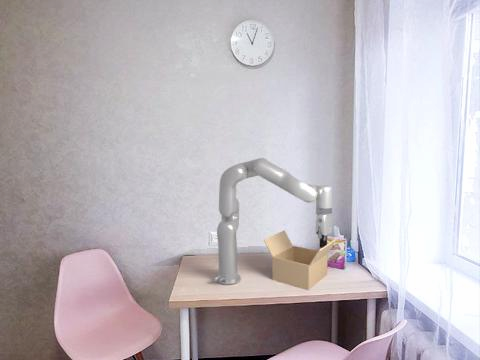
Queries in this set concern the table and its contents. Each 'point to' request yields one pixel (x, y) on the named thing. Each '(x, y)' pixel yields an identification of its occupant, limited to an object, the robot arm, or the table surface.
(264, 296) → the table surface
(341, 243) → the candy bar box
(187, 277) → the table surface
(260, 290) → the table surface
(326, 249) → the near flap
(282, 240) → the far flap
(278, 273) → the carton
